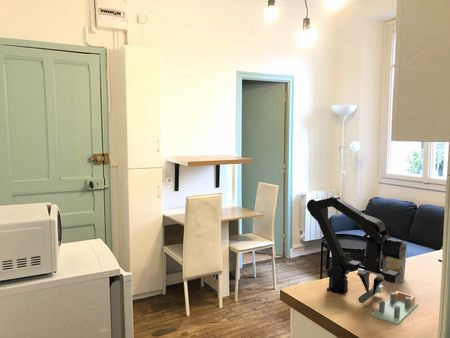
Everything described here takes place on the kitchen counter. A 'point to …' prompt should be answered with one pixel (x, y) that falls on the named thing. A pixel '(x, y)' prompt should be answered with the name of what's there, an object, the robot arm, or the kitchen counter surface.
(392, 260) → the coffee box
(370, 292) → the rod
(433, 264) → the kitchen counter surface
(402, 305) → the clip board
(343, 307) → the kitchen counter surface
